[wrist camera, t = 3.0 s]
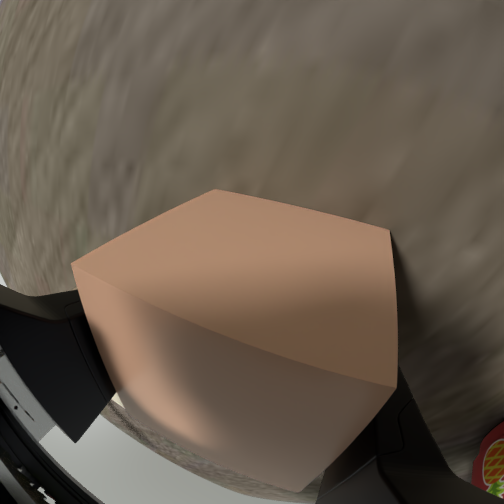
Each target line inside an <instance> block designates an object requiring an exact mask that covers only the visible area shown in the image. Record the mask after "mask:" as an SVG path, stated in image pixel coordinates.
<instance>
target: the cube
mask: <svg viewBox="0 0 504 504" xmlns="http://www.w3.org/2000/svg"><path fill="white" fill-rule="evenodd" d="M71 265H72V269H73V273H74V277H75V281H76V285H77V288H78V292H79V295H80V299H81V302H82V305H83V308H84V311H85V314H86V317H87V320H88V323H89V326H90V329H91V332H92V335H93V337H94V340H95V343H96V345H97V348H98V350H99V353H100V355H101V358H102V360H103V363H104V365H105V368H106V370H107V372H108V374H109V377H110V379H111V381H112V383H113V385H114V388H115V390H116V392H117V394H118V396H119V398H120V400H121V402H122V404H123V406H124V408H125V410H126V412H127V414H128V415H129V416H130V417H132V418H133V419H135V420H136V421H138V422H139V423H141V424H142V425H144V426H146V427H147V428H149V429H150V430H152V431H154V432H155V433H157V434H159V435H161V436H162V437H164V438H166V439H168V440H169V441H171V442H173V443H175V444H177V445H178V446H180V447H182V448H184V449H186V450H188V451H190V452H192V453H194V454H196V455H198V456H200V457H202V458H204V459H206V460H209V461H211V462H213V463H215V464H217V465H220V466H222V467H224V468H227V469H229V470H231V471H234V472H236V473H239V474H241V475H244V476H247V477H249V478H252V479H255V480H258V481H260V482H263V483H266V484H269V485H272V486H276V487H279V488H282V489H285V490H289V491H292V492H296V493H299V492H300V491H301V490H303V489H304V488H305V487H306V486H307V485H308V484H310V483H311V482H312V481H313V480H314V479H315V478H316V477H317V476H319V475H320V474H321V473H322V472H323V471H324V470H325V469H326V468H327V467H328V466H329V465H330V464H331V463H332V462H333V461H334V460H335V459H336V458H337V457H338V456H339V455H340V454H341V453H342V452H343V451H344V450H345V449H346V448H347V447H348V446H349V445H350V444H351V443H352V442H353V441H354V440H355V438H356V437H357V436H358V435H359V434H360V433H361V432H362V431H363V430H364V428H365V427H366V426H367V425H368V424H369V423H370V421H371V420H372V419H373V418H374V417H375V415H376V414H377V413H378V412H379V410H380V409H381V408H382V407H383V405H384V404H385V403H386V402H387V400H388V399H389V398H390V396H391V395H392V394H393V392H394V391H395V390H396V388H397V368H398V323H397V300H396V285H395V274H394V263H393V254H392V246H391V238H390V231H389V230H388V229H384V228H380V227H377V226H373V225H370V224H366V223H362V222H358V221H355V220H351V219H347V218H343V217H339V216H335V215H331V214H327V213H323V212H319V211H315V210H311V209H307V208H303V207H298V206H294V205H290V204H285V203H281V202H276V201H272V200H267V199H262V198H258V197H253V196H248V195H243V194H238V193H233V192H228V191H223V190H218V189H214V190H211V191H209V192H207V193H205V194H203V195H201V196H198V197H196V198H194V199H192V200H190V201H188V202H186V203H184V204H181V205H179V206H177V207H175V208H173V209H171V210H169V211H167V212H165V213H163V214H161V215H159V216H157V217H155V218H153V219H151V220H149V221H147V222H145V223H143V224H141V225H139V226H137V227H135V228H134V229H132V230H130V231H128V232H126V233H124V234H122V235H120V236H119V237H117V238H115V239H113V240H111V241H109V242H108V243H106V244H104V245H102V246H100V247H99V248H97V249H95V250H93V251H92V252H90V253H88V254H86V255H85V256H83V257H81V258H79V259H78V260H76V261H74V262H73V263H71Z"/></svg>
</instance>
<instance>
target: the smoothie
mask: <svg viewBox="0 0 504 504" xmlns="http://www.w3.org/2000/svg"><path fill="white" fill-rule="evenodd" d="M471 484H472V485H474V486H476V487H478V488H480V489H483V490H485V491H487V492H489V493H491V494H494V495H496V496H498V497H500V498H503V499H504V421H503V422H502V423H500V424H499V425H498V426H496V427H495V428H494V429H493V430H492V431H491V432H490V433H489V434H488V435H486V436H485V437H484V439H483V441H482V442H481V444H480V452H479V455H478V456H477V457H476V459H475V460H474V462H473V470H472V481H471Z"/></svg>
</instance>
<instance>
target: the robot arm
mask: <svg viewBox="0 0 504 504" xmlns="http://www.w3.org/2000/svg"><path fill="white" fill-rule="evenodd" d="M115 394H116V390H115V388H114V385H113V383H112V381H111V379H110V377H109V374H108V372H107V370H106V368H105V365H104V363H103V360H102V358H101V355H100V353H99V350H98V348H97V345H96V343H95V340H94V337H93V335H92V332H91V329H90V326H89V323H88V320H87V317H86V314H85V311H84V308H83V305H82V302H81V299H80V295H79V292H78V289H77V290H72V291H66V292H61V293H55V294H49V295H44V296H36V297H35V296H26V295H23V294H21V293H18V292H16V291H14V290H12V289H9V288H7V287H5V286H3V285H1V284H0V504H49V503H48V502H46V501H45V500H46V499H47V498H46V497H45V496H44V495H43V494H42V493H41V492H39V491H38V490H37V489H38V488H39V487H42V488H43V489H44V490H45V491H44V493H45V494H46V495H48V496H49V497H51V498H52V499H54V500H55V501H56V502H55V504H105V503H103V502H102V501H101V500H99V499H98V498H97V497H96V496H94V495H93V494H92V493H91V492H89V491H88V490H87V489H86V488H85V487H83V486H82V485H81V484H80V483H79V482H78V481H77V480H75V479H74V478H73V477H72V476H71V475H70V474H69V473H68V472H67V471H66V470H65V469H64V468H63V467H62V466H61V465H60V464H59V463H58V462H56V460H54V458H53V457H52V456H51V455H50V454H49V453H48V452H47V451H46V450H45V449H44V448H43V447H42V446H41V444H39V441H40V440H41V439H42V438H43V437H44V436H45V435H46V434H47V433H48V432H49V431H50V430H51V429H52V428H53V427H54V426H55V425H57V426H58V427H59V428H60V429H61V430H62V431H63V432H64V433H65V434H66V435H67V436H68V437H69V438H70V439H71V440H72V441H73V442H74V443H76V442H77V441H78V440H79V439H80V438H81V437H82V435H83V434H84V433H85V431H86V430H87V429H88V428H89V426H90V425H91V424H92V423H93V421H94V420H95V419H96V418H97V416H98V415H99V414H100V413H101V411H102V410H103V409H104V408H105V406H106V405H107V404H108V402H109V401H110V400H111V399H112V397H113V396H114V395H115ZM412 398H413V395H412V393H411V391H410V389H409V386H408V384H407V382H406V380H405V378H404V376H403V374H402V372H401V370H400V367H399V365H398V368H397V388H396V390H395V391H394V392H393V394H392V395H391V396H390V398H389V399H388V400H387V402H386V403H385V404H384V405H383V407H382V408H381V409H380V410H379V412H378V413H377V414H376V415H375V417H374V418H373V419H372V420H371V421H370V423H369V424H368V425H367V426H366V427H365V428H364V430H363V431H362V432H361V433H360V434H359V435H358V436H357V437H356V438H355V440H354V441H353V442H352V443H351V444H350V445H349V446H348V447H347V448H346V449H345V450H344V451H343V452H342V453H341V454H340V455H339V456H338V457H337V458H336V459H335V460H334V461H333V462H332V463H331V464H330V465H329V466H328V467H327V468H326V469H325V473H324V476H323V480H322V484H321V487H320V490H319V494H318V497H317V500H316V503H315V504H504V499H503V498H500V497H498V496H496V495H494V494H491V493H489V492H487V491H485V490H483V489H480V488H478V487H476V486H474V485H472V484H470V483H468V482H466V481H464V480H462V479H460V478H459V477H458V476H456V475H455V474H454V473H453V472H452V470H451V469H450V468H449V466H448V464H447V463H446V461H445V459H444V457H443V455H442V453H441V451H440V449H439V447H438V446H437V444H436V442H435V440H434V438H433V436H432V435H431V433H430V431H429V429H428V427H427V425H426V423H425V421H424V419H423V417H422V415H421V413H420V411H419V408H418V406H417V404H416V402H415V399H414V398H413V399H412Z"/></svg>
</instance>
